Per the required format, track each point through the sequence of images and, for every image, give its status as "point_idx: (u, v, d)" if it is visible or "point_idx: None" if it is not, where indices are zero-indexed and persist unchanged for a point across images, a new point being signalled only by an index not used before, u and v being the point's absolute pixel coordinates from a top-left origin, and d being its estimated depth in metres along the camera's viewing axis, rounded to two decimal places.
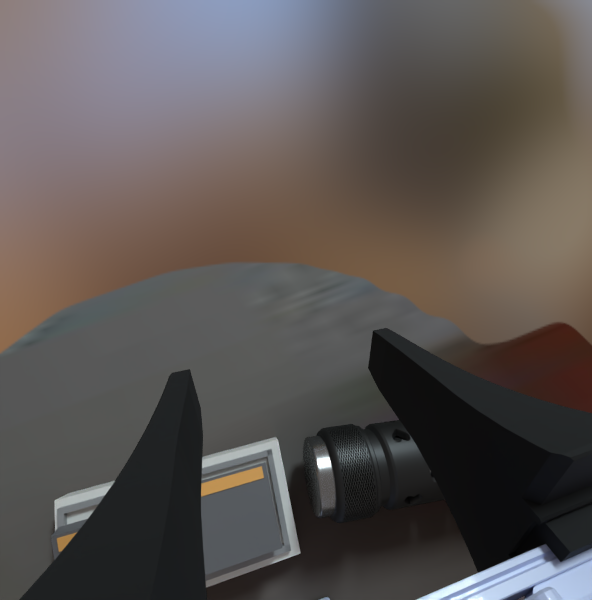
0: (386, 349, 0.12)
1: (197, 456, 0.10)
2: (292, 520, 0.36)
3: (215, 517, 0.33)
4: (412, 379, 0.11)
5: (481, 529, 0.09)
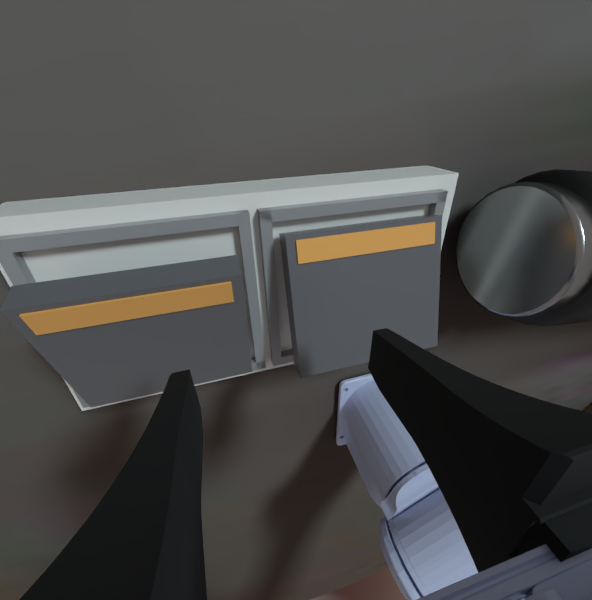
0: (386, 349, 0.12)
1: (197, 456, 0.10)
2: None
3: (345, 297, 0.17)
4: (412, 379, 0.11)
5: (481, 529, 0.09)
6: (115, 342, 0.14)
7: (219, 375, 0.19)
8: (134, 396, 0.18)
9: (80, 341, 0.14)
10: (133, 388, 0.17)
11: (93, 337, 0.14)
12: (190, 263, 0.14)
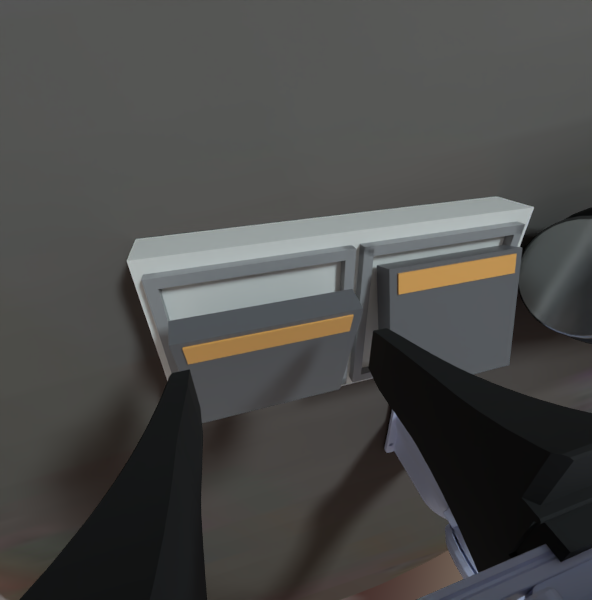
0: (386, 349, 0.12)
1: (197, 456, 0.10)
2: None
3: (434, 322, 0.19)
4: (412, 379, 0.11)
5: (481, 529, 0.09)
6: (243, 367, 0.16)
7: (313, 392, 0.20)
8: (239, 412, 0.20)
9: (217, 368, 0.15)
10: (241, 406, 0.19)
11: (228, 364, 0.16)
12: (312, 297, 0.16)
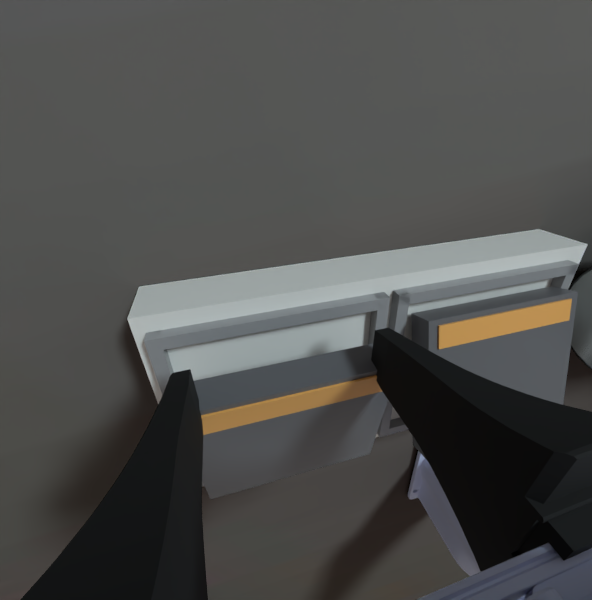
0: (388, 349, 0.12)
1: (198, 456, 0.10)
2: None
3: None
4: (414, 378, 0.11)
5: (484, 528, 0.09)
6: (260, 436, 0.14)
7: (339, 459, 0.18)
8: (254, 485, 0.17)
9: (230, 438, 0.13)
10: (256, 478, 0.16)
11: (243, 433, 0.13)
12: (339, 352, 0.14)
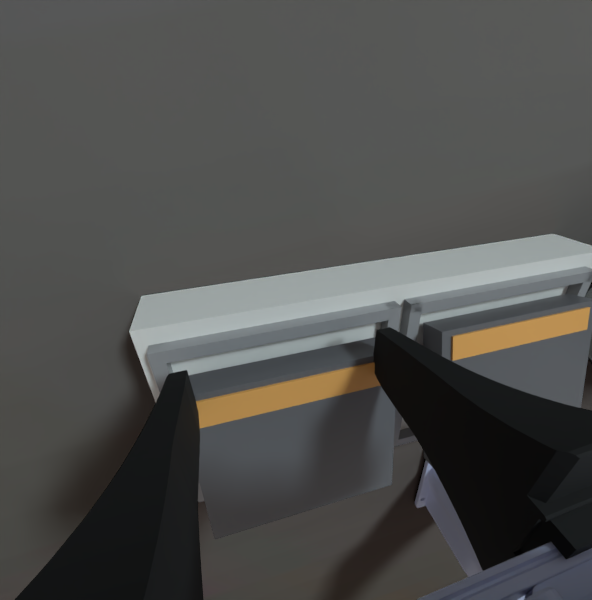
0: (390, 348, 0.12)
1: (194, 457, 0.10)
2: None
3: None
4: (416, 378, 0.11)
5: (486, 527, 0.09)
6: (265, 439, 0.13)
7: (357, 489, 0.16)
8: (263, 522, 0.15)
9: (233, 437, 0.13)
10: (265, 509, 0.15)
11: (247, 432, 0.13)
12: (338, 346, 0.14)
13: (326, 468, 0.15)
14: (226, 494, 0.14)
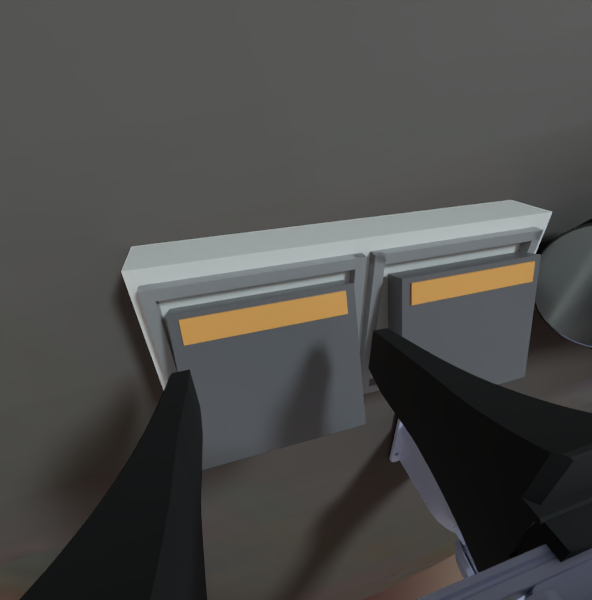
0: (386, 349, 0.12)
1: (197, 456, 0.10)
2: None
3: (448, 334, 0.18)
4: (412, 379, 0.11)
5: (481, 529, 0.09)
6: (243, 362, 0.15)
7: (333, 426, 0.17)
8: (245, 455, 0.16)
9: (215, 358, 0.15)
10: (247, 440, 0.16)
11: (226, 354, 0.15)
12: (306, 288, 0.17)
13: (301, 399, 0.16)
14: (209, 419, 0.15)
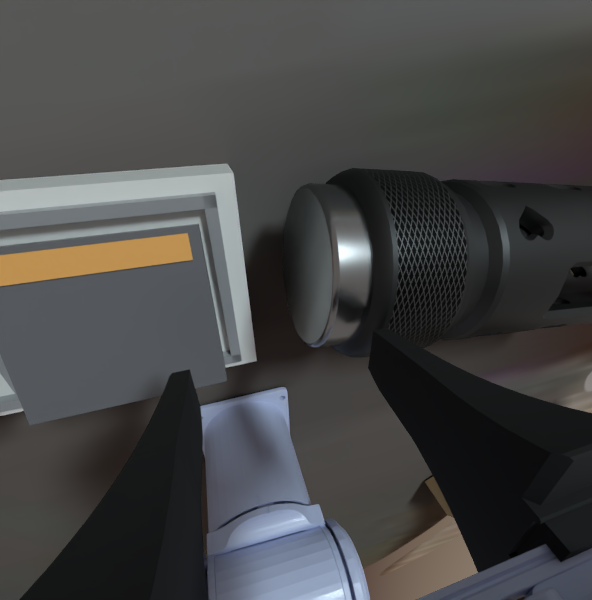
0: (386, 349, 0.12)
1: (197, 456, 0.10)
2: (249, 321, 0.20)
3: (73, 327, 0.14)
4: (412, 379, 0.11)
5: (481, 529, 0.09)
6: None
7: None
8: None
9: None
10: None
11: None
12: None
13: None
14: None
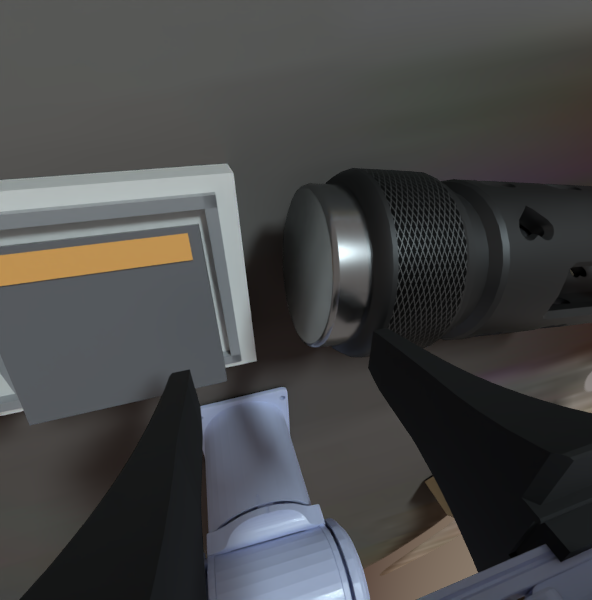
0: (386, 349, 0.12)
1: (197, 456, 0.10)
2: (249, 321, 0.20)
3: (73, 327, 0.14)
4: (412, 379, 0.11)
5: (481, 529, 0.09)
6: None
7: None
8: None
9: None
10: None
11: None
12: None
13: None
14: None
